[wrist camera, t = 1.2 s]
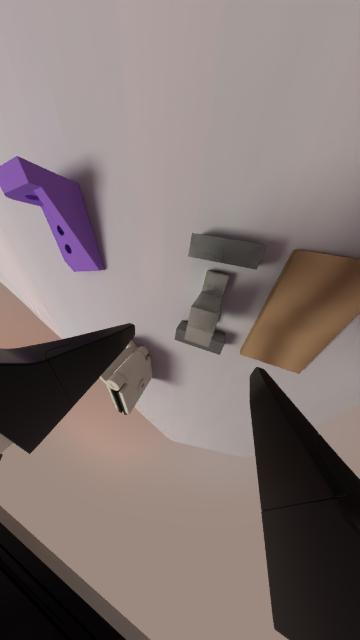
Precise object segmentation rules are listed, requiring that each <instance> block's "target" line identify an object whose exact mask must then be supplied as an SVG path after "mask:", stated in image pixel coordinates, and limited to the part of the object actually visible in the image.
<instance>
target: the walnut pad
mask: <svg viewBox="0 0 360 640" xmlns="http://www.w3.org/2000/svg"><path fill="white" fill-rule="evenodd" d="M359 313H360V259H355V258H348V257H342V256H335V255H328V254H322V253H315V252H309V251H302V250H293V252H292V254H291V256H290V258H289V260H288V262H287V263H286V265H285V267H284V269H283V271H282V273H281V275H280V277H279V278H278V280H277V282H276V284H275V286H274V288H273V290H272V292H271V293H270V295H269V297H268V299H267V301H266V303H265V305H264V307H263V308H262V310H261V312H260V314H259V316H258V318H257V320H256V322H255V323H254V325H253V327H252V329H251V331H250V333H249V335H248V337H247V338H246V340H245V342H244V344H243V346H242V348H241V350H240V354H241V355H244V356H247V357H250V358H253V359H256V360H259V361H262V362H265V363H268V364H271V365H274V366H277V367H280V368H283V369H286V370H289V371H292V372H295V373H298V374H299V373H300V372H301V371H302V370H303V369H304V368H305V367H306V366H307V365H308V364H309V363H310V362H311V361H312V360H313V359H314V358H315V357H316V356H317V355H318V354H319V353H320V352H321V351H322V350H323V349H324V348H325V347H326V346H327V345H328V344H329V343H330V342H331V341H332V340H333V339H334V338H335V337H336V336H337V335H338V334H339V333H340V332H341V331H342V330H343V329H344V328H345V327H346V326H347V325H348V324H349V323H350V322H351V321H352V320H353V319H354V318H355V317H356V316H357V315H358V314H359Z"/></svg>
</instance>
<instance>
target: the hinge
mask: <svg viewBox="0 0 360 640" xmlns="http://www.w3.org/2000/svg"><path fill="white" fill-rule="evenodd" d="M127 346H128V348H125V349H124V350H123V352H122V353H121V354H120V355H119V356H118V357H117V358H116V360H115V361H114V362H113V363H112V364H111V365H110V366H109V367H108V368H107V369H106V371H105V372H104V373H103V374H102V375H101V376H100V377H99V378H100V379H101V380H102V381H103V382H104V383H105V384H106V385H107V388H108V390H109V392H110V395H111V398H112V400H113V402H114V405H115V407H116V409H118V410H119V412H121V413H122V411H123V412H124V414H125V415H127V414H130V412H131V411H132V409H133V408H134V406H135V404H136V403H137V401H138V399H139V398H140V396H141V395H142V393H143V391H144V390H145V388H146V386H147V385H148V383H149V381H150V380H151V378H152V377H153V375H152V367H151V359H150V356H148V355H147V354H148V353H149V352H148V349H147V348H146V347H144V346H140V347H137V345H136V344H135V343H134V342H133V341H132V340H131V341H130V342H129V344H128V345H127ZM132 353H133V354H132ZM131 354H132V355H131ZM130 355H131V356H130ZM146 355H147V357H146ZM129 356H130V357H129ZM128 357H129V358H128ZM127 358H128V359H127ZM126 359H127V360H126ZM125 360H126V361H125ZM124 361H125V363H124V364H123V365H122V366H121V367H120V368H119V369H118V370H117V371H116V372H115V370H116V369H117V368H118V367H119V366H120V365H121V364H122V363H123V362H124ZM114 372H115V373H114ZM113 373H114V374H113Z"/></svg>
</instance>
